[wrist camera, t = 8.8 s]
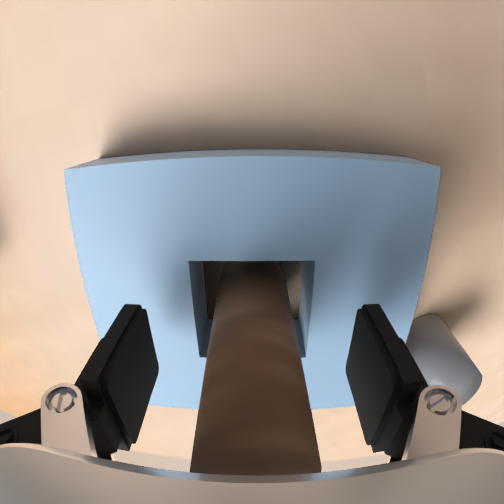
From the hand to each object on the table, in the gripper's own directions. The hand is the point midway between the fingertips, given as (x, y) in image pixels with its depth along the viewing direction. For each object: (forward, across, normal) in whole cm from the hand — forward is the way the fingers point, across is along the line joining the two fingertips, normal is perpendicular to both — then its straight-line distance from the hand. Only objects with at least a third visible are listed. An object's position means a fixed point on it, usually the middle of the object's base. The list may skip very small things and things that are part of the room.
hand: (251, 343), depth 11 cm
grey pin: (+5, -10, +4) cm, 12 cm away
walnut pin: (+5, 0, 0) cm, 5 cm away
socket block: (+5, 0, 0) cm, 5 cm away
